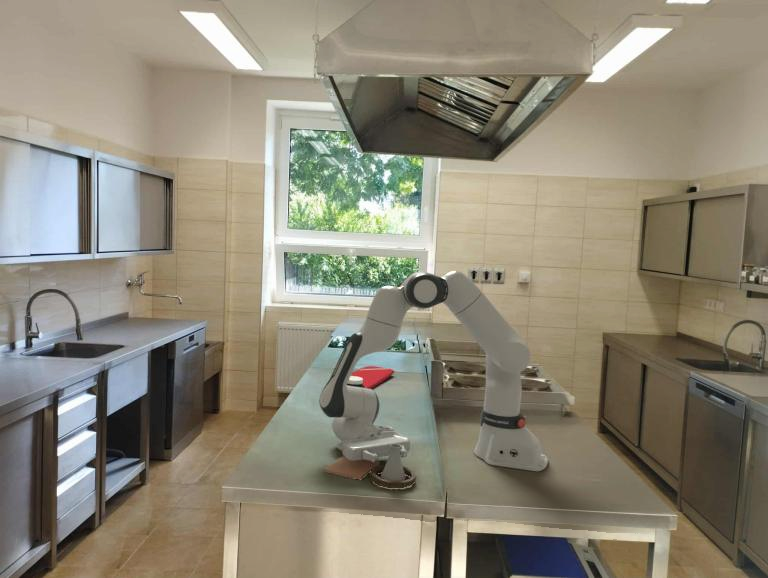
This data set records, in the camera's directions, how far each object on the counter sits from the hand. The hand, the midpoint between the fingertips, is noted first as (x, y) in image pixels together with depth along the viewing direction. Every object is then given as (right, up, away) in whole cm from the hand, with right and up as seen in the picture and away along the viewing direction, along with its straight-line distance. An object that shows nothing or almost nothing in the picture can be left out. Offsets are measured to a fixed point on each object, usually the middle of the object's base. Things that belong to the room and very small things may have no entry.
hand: (390, 456), depth 169 cm
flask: (+1, -6, -1) cm, 7 cm away
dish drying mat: (-11, +5, +100) cm, 101 cm away
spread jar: (-13, +1, +59) cm, 61 cm away
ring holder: (+1, -6, -1) cm, 6 cm away
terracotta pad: (-11, -5, +6) cm, 13 cm away
